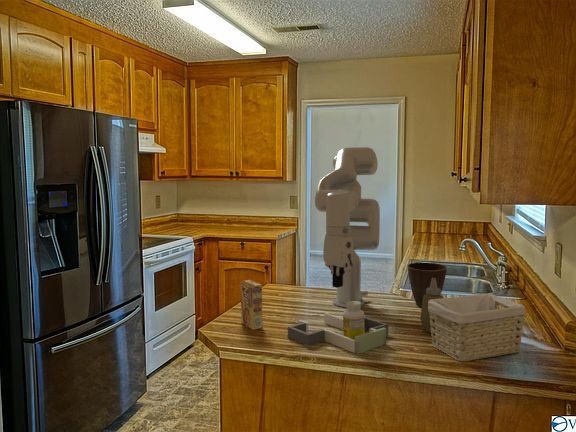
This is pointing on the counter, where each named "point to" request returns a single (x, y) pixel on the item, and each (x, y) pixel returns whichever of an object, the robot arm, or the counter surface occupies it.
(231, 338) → the counter surface
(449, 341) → the storage basket
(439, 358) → the counter surface
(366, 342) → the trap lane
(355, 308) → the supplement bottle
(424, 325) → the squeeze bottle
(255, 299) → the candy box
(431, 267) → the plant pot
